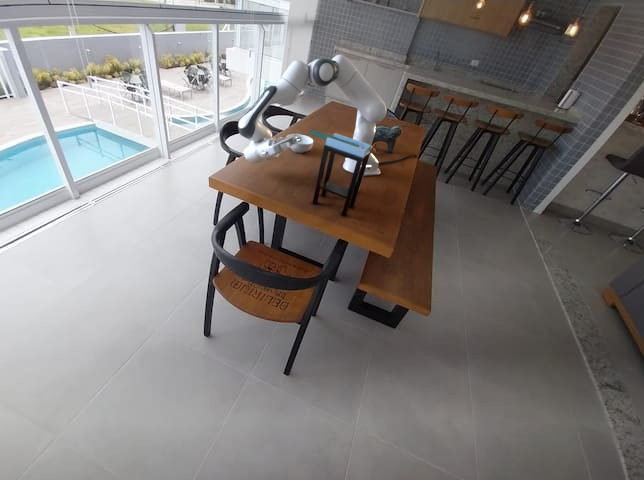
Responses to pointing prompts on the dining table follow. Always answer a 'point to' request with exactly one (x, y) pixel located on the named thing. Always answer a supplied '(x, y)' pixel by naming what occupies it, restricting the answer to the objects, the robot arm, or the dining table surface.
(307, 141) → the cereal bowl
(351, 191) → the stool
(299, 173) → the dining table surface
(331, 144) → the tray
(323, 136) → the pencil
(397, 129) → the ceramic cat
